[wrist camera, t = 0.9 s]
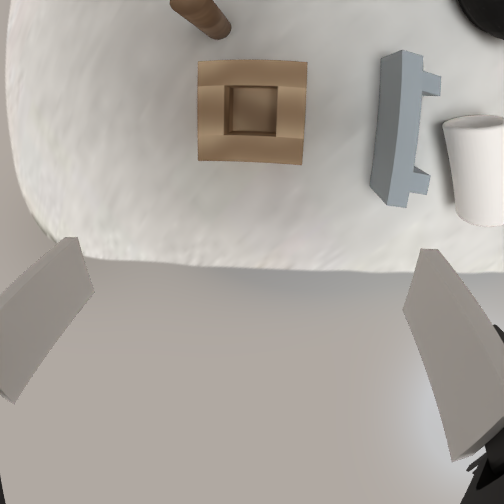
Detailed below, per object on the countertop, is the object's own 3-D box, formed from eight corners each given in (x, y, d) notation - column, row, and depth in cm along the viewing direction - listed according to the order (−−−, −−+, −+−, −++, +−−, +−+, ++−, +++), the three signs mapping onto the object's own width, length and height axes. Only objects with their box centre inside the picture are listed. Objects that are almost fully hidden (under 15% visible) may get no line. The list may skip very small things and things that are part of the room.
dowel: (206, 18, 22) (171, -13, 13) (231, 17, 22) (206, -18, 13) (205, 40, 23) (168, 15, 14) (230, 38, 23) (204, 10, 14)
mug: (444, 206, 28) (479, 235, 22) (429, 123, 24) (468, 133, 17) (511, 183, 25) (548, 206, 18) (501, 108, 21) (544, 117, 14)
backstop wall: (380, 58, 22) (402, 49, 17) (423, 69, 22) (451, 65, 16) (369, 186, 29) (386, 205, 24) (410, 192, 28) (433, 211, 23)
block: (211, 67, 25) (198, 61, 20) (303, 69, 24) (307, 62, 19) (211, 151, 29) (198, 160, 25) (299, 155, 28) (301, 165, 24)
